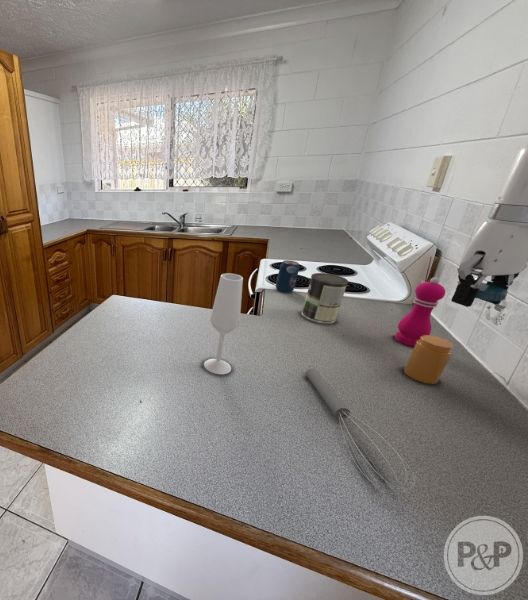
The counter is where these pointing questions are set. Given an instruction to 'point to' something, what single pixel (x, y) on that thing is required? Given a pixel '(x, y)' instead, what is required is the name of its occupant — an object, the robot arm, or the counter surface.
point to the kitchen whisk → (343, 413)
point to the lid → (490, 292)
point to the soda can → (287, 276)
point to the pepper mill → (420, 313)
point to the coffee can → (324, 297)
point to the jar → (428, 359)
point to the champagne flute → (225, 316)
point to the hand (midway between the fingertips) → (475, 302)
